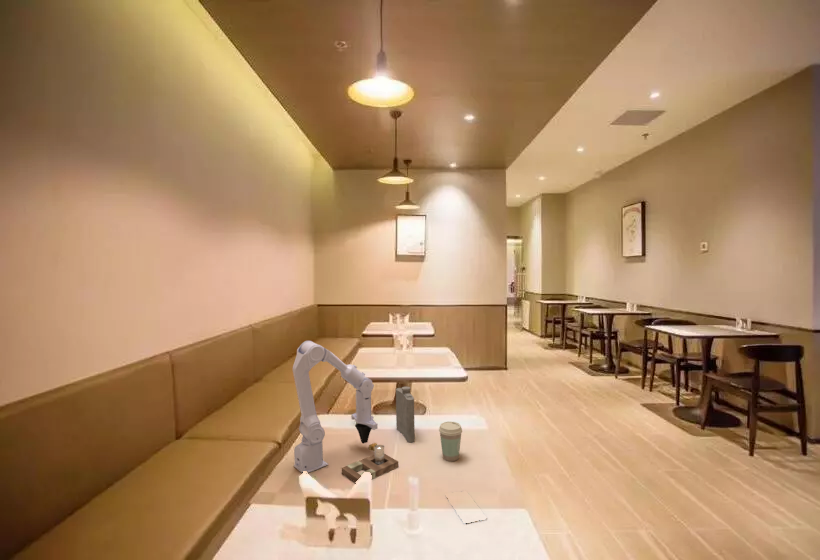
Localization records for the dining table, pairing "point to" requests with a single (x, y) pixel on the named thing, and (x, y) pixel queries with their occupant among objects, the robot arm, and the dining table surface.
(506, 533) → the dining table surface
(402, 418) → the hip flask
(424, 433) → the dining table surface
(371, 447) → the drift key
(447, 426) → the coffee cup
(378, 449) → the frosted round dowel plug
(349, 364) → the robot arm
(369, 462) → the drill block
